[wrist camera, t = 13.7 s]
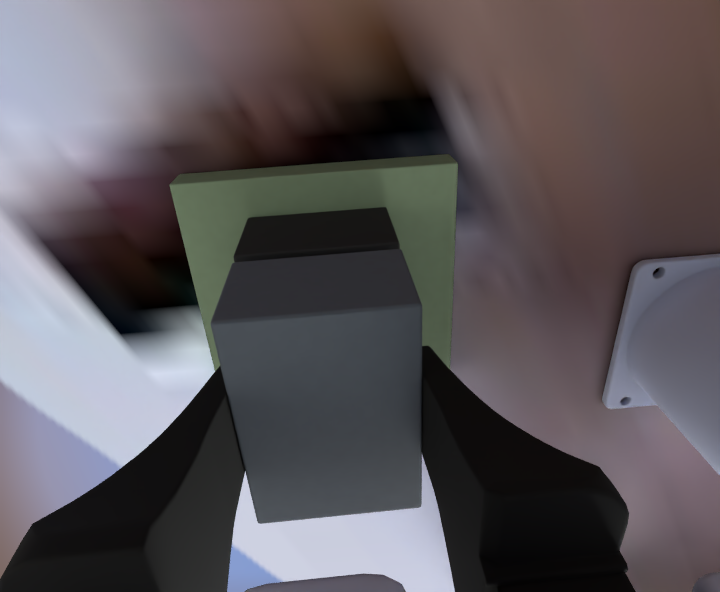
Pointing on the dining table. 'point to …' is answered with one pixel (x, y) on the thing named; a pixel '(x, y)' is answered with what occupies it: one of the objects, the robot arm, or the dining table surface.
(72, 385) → the dining table surface
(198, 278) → the base pad
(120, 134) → the dining table surface
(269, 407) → the grey block
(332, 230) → the black rectangular block
